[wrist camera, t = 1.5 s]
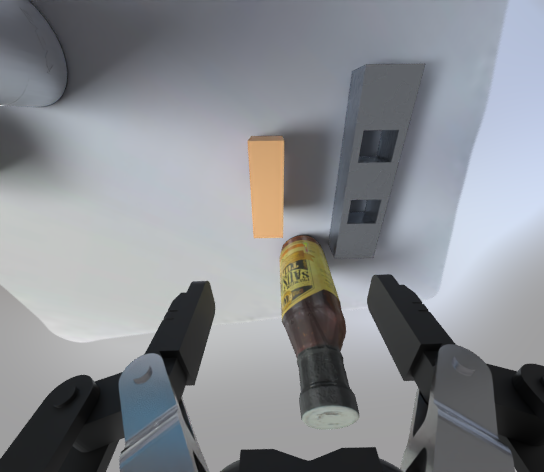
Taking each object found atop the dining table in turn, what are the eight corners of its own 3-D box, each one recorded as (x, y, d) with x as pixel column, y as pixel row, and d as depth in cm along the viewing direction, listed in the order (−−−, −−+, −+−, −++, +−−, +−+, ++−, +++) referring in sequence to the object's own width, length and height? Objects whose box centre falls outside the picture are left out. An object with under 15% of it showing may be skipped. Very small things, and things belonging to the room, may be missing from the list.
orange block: (257, 210, 28) (253, 238, 22) (253, 133, 24) (247, 141, 18) (280, 210, 28) (282, 237, 22) (280, 133, 24) (284, 140, 18)
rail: (328, 244, 31) (334, 258, 28) (352, 71, 21) (366, 64, 18) (363, 243, 31) (373, 257, 28) (403, 70, 21) (425, 63, 18)
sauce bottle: (294, 225, 30) (326, 383, 12) (330, 244, 31) (404, 408, 14) (270, 259, 32) (270, 426, 15) (304, 275, 34) (340, 442, 17)
